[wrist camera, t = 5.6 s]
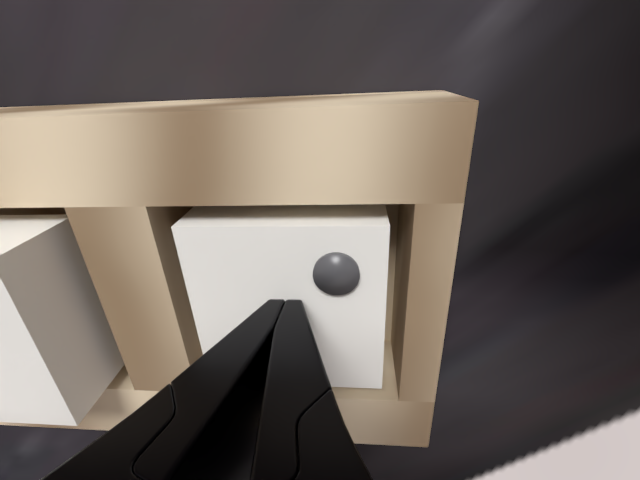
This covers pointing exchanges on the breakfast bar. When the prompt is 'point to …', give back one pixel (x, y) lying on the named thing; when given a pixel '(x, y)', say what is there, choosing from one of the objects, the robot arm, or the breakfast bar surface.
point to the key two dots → (293, 276)
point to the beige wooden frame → (244, 190)
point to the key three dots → (50, 325)
